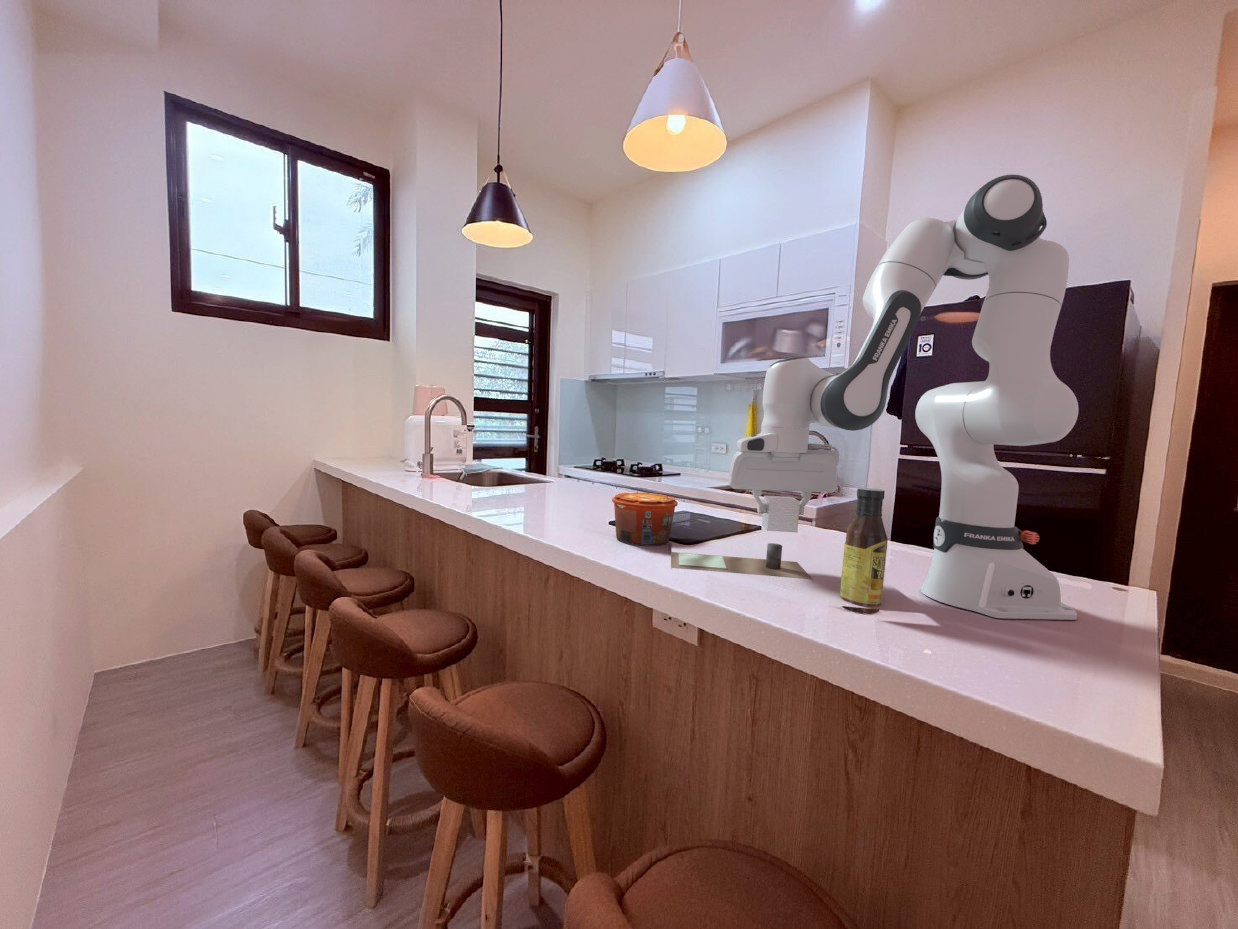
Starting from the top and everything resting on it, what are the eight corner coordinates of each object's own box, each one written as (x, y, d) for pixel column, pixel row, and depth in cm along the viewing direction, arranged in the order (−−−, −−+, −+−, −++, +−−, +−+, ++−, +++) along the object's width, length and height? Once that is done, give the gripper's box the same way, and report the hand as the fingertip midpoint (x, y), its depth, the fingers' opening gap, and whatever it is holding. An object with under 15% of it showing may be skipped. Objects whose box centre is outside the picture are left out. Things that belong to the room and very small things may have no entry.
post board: (796, 568, 107) (798, 540, 107) (811, 586, 95) (814, 555, 95) (671, 558, 110) (672, 531, 109) (670, 575, 98) (672, 544, 97)
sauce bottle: (876, 619, 81) (888, 493, 79) (834, 608, 84) (845, 488, 83) (884, 608, 86) (895, 489, 84) (844, 599, 90) (854, 485, 88)
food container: (686, 540, 129) (689, 497, 128) (654, 552, 115) (657, 504, 115) (632, 530, 137) (634, 490, 137) (596, 539, 124) (599, 495, 123)
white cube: (790, 526, 103) (792, 497, 103) (797, 532, 98) (799, 501, 97) (762, 525, 104) (764, 495, 103) (767, 530, 98) (769, 499, 98)
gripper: (834, 443, 102) (830, 513, 103) (729, 440, 104) (726, 508, 105) (845, 445, 95) (840, 519, 97) (733, 441, 97) (729, 514, 99)
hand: (780, 513), depth 101 cm, fingers closed on white cube, 6 cm apart
